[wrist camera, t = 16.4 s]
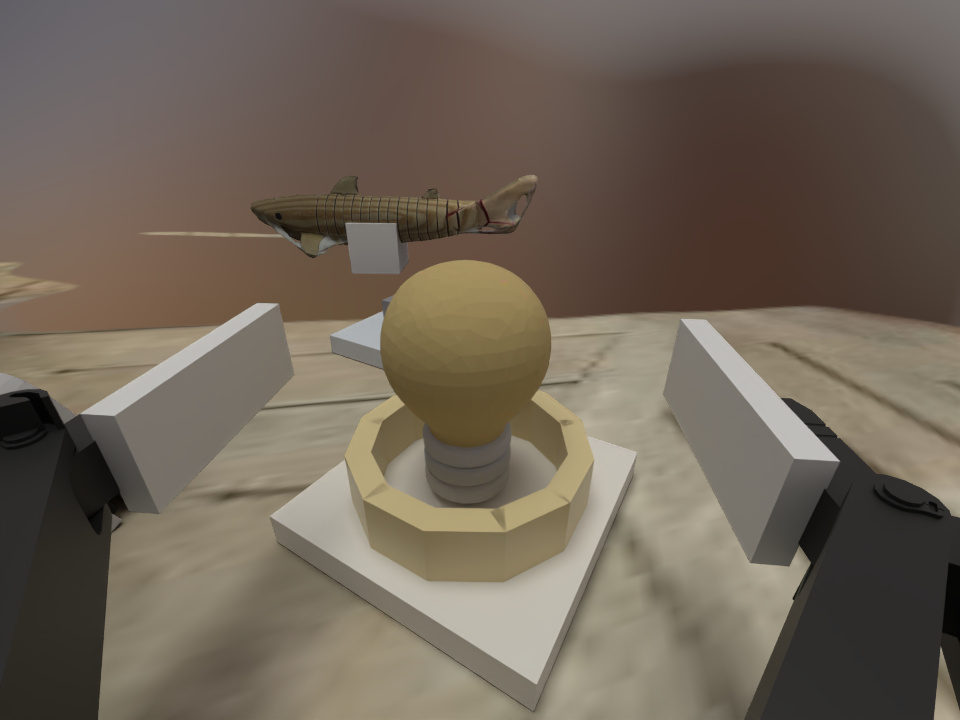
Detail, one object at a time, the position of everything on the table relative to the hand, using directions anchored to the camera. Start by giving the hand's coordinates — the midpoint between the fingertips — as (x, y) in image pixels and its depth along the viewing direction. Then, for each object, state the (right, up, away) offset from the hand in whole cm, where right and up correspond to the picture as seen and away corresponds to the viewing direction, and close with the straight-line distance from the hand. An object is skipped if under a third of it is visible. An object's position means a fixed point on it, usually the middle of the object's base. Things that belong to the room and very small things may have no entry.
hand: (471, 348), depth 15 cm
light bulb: (0, -6, +5) cm, 8 cm away
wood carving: (-10, +12, +43) cm, 45 cm away
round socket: (0, -7, +6) cm, 9 cm away
